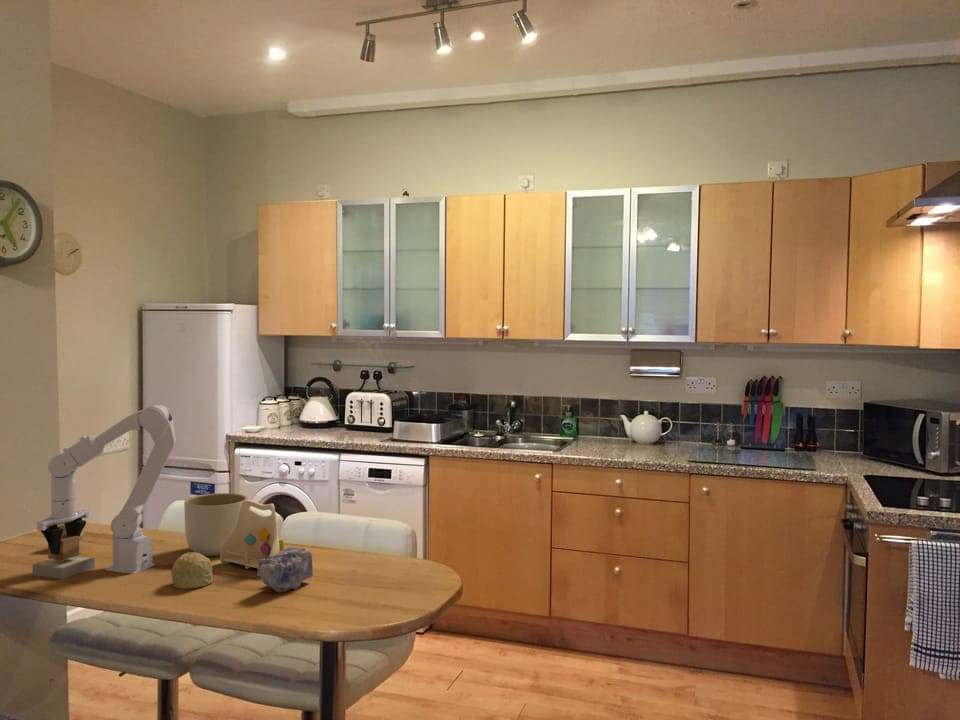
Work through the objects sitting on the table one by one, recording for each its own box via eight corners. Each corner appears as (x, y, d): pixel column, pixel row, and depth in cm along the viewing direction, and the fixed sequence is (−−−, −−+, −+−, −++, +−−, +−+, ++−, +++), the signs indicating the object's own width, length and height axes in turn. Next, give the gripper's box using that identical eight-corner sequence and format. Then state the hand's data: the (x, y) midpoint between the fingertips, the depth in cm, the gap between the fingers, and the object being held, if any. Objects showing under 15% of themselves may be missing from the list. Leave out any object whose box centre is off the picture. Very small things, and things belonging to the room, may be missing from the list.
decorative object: (186, 592, 190) (160, 565, 187) (219, 566, 193) (195, 538, 189) (188, 607, 181) (161, 578, 178) (223, 579, 184) (197, 550, 181)
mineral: (284, 580, 191) (284, 541, 191) (315, 585, 187) (315, 545, 187) (246, 598, 178) (246, 556, 177) (278, 604, 174) (279, 561, 174)
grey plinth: (94, 568, 198) (94, 557, 198) (63, 580, 189) (63, 568, 189) (64, 565, 201) (64, 554, 201) (32, 576, 192) (32, 564, 192)
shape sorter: (299, 568, 201) (300, 503, 200) (269, 579, 192) (269, 510, 192) (249, 556, 211) (249, 494, 211) (218, 565, 203) (219, 500, 202)
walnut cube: (79, 555, 196) (79, 536, 196) (63, 560, 192) (63, 541, 191) (64, 553, 198) (64, 534, 198) (48, 558, 193) (48, 539, 193)
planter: (209, 564, 203) (210, 508, 203) (171, 553, 213) (171, 500, 212) (259, 549, 218) (259, 497, 217) (221, 540, 227) (221, 490, 226)
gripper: (74, 492, 202) (74, 542, 203) (27, 504, 189) (27, 557, 189) (95, 494, 200) (95, 544, 201) (49, 506, 186) (49, 560, 187)
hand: (64, 551), depth 195 cm, fingers closed on walnut cube, 5 cm apart
